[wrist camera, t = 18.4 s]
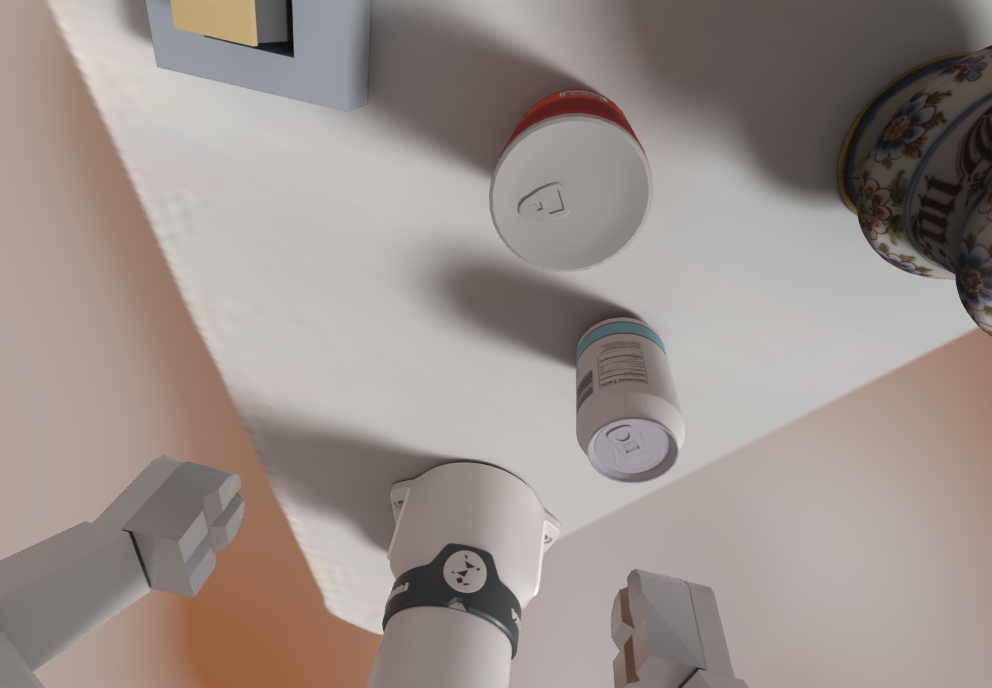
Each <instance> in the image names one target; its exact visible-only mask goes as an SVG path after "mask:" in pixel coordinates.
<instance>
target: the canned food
mask: <svg viewBox="0 0 992 688" xmlns="http://www.w3.org/2000/svg"><path fill="white" fill-rule="evenodd" d="M652 188H653V187H652V174H651V169H650V166H649V163H648V159H647V157H646V155H645V152H644V150H643V148H642V146H641V144H640V143H639V141H638V139H637V137H636V135H635V134H634V132H633V130H632V128H631V126H630V125H629V123H628V121H627V119H626V117H625V116H624V114H623V112H622V111H621V110H620V109H619V108H618V107H617V106H616V105H615V103H613V102H612V101H610V100H609V99H607V98H606V97H605V96H602V95H600V94H597V93H595V92H592V91H586V90H580V89H579V90H566V91H562V92H558V93H554V94H552V95H550V96H548V97H546V98H544V99H542V100H541V101H539V102H538V103H537V104H535V105H534V106H533V107H532V108H531V109H530V110H529V111H528V112H527V113H526V114H525V115H524V117H523V118H522V120H521V121H520V123H519V125H518V126H517V128H516V130H515V131H514V133H513V135H512V137H511V138H510V140H509V142H508V143H507V145H506V147H505V149H504V150H503V152H502V154H501V155H500V158H499V160H498V162H497V164H496V167H495V170H494V172H493V175H492V180H491V186H490V193H489V200H490V212H491V216H492V220H493V224H494V226H495V228H496V230H497V232H498V234H499V236H500V238H501V239H502V240H503V242H504V243H505V244H506V246H507V247H508V248H509V249H510V250H511V251H512V252H514V253H515V254H516V255H517V256H518V257H520V258H521V259H523V260H525V261H526V262H528V263H530V264H532V265H535V266H537V267H540V268H543V269H547V270H553V271H579V270H584V269H589V268H592V267H595V266H597V265H600V264H603V263H604V262H606V261H608V260H610V259H612V258H613V257H615V256H616V255H618V254H619V253H620V252H621V251H623V250H624V249H625V248H626V247H627V246H628V245H629V244H630V243H631V242H632V241H633V240H634V238H635V237H636V236H637V235H638V233H639V231H640V230H641V228H642V226H643V225H644V223H645V221H646V218H647V215H648V213H649V210H650V207H651V200H652V192H653V190H652Z"/></svg>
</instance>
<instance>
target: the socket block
mask: <svg viewBox="0 0 992 688" xmlns="http://www.w3.org/2000/svg"><path fill="white" fill-rule="evenodd" d="M146 6H147V12H148V17H149V23H150V29H151V35H152V41H153V46H154V52H155V58H156V64H157V67H159V68H163V69H168V70H172V71H176V72H180V73H185V74H189V75H193V76H197V77H202V78H206V79H210V80H214V81H219V82H223V83H227V84H231V85H236V86H240V87H244V88H248V89H253V90H257V91H261V92H265V93H270V94H274V95H278V96H282V97H287V98H291V99H295V100H299V101H303V102H308V103H312V104H316V105H320V106H325V107H329V108H333V109H337V110H342V111H346V112H348V111H350V110H353V109H355V108H358V107H361V106H363V105H366V104H367V96H368V72H369V47H370V22H371V0H292V9H293V38H294V49H293V48H289V47H285V46H280V45H276V44H272V43H268V42H267V43H258V46H249V45H245V44H241V43H236V42H232V41H228V40H224V39H219V38H215V37H211V36H207V35H202V34H198V33H194V32H189V31H185V30H181V29H177V28H174V21H173V14H172V7H171V1H170V0H146Z"/></svg>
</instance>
